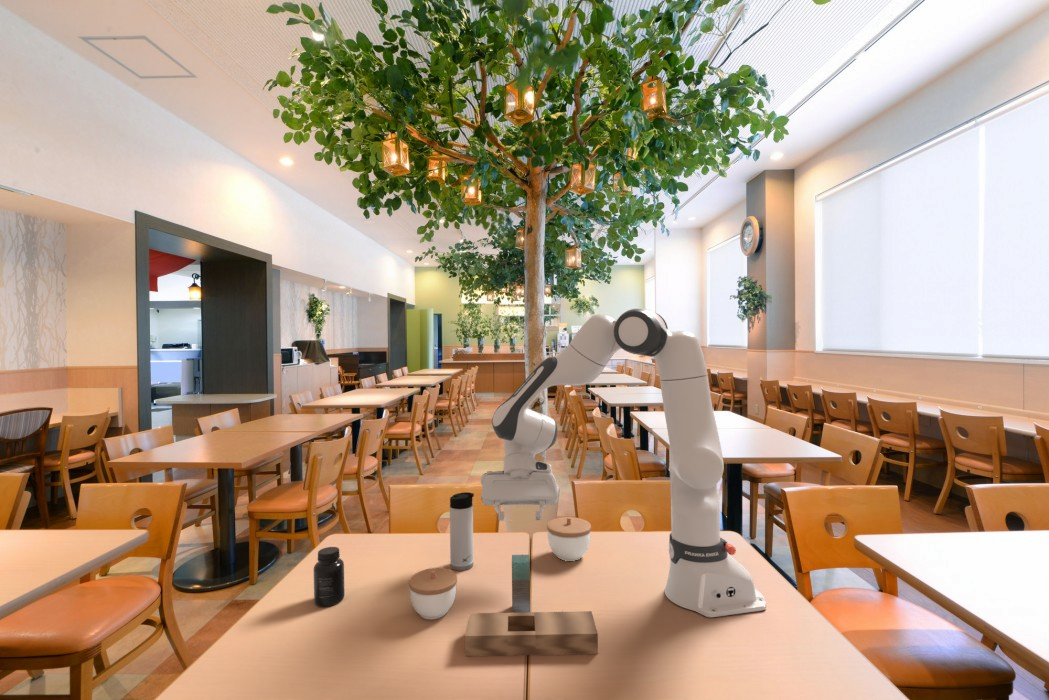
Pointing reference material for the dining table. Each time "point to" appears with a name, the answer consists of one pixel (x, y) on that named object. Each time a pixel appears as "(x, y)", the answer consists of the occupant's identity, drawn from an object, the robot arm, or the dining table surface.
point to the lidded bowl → (569, 537)
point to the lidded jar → (433, 592)
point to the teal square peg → (520, 583)
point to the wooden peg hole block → (531, 633)
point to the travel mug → (461, 531)
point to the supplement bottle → (328, 577)
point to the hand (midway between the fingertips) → (520, 519)
